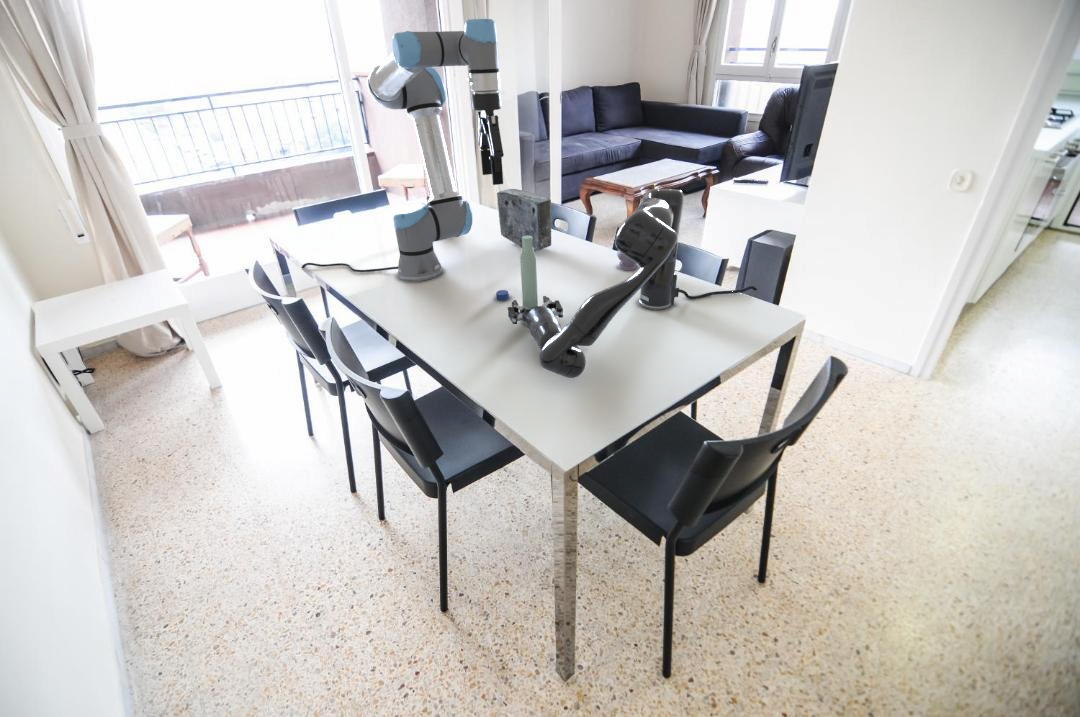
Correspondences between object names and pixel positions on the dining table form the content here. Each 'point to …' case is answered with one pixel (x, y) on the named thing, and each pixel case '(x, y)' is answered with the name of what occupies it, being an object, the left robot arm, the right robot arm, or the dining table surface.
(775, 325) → the dining table surface
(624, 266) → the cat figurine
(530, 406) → the dining table surface
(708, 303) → the dining table surface
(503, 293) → the cap
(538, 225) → the concrete block
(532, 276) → the bottle
